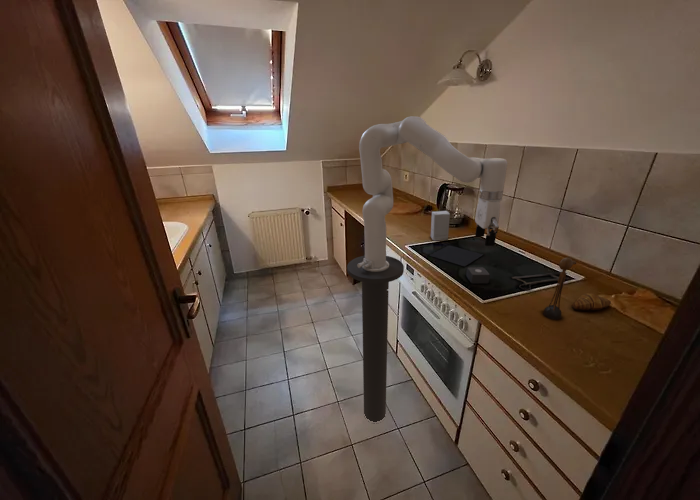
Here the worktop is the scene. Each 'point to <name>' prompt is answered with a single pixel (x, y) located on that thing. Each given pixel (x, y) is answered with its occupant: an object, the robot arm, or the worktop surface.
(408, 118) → the robot arm
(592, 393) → the worktop surface
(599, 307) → the croissant
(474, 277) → the tape measure
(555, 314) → the wooden tabletop sculpture
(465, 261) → the mat
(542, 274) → the hacksaw
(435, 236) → the cosmetic box
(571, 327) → the worktop surface
